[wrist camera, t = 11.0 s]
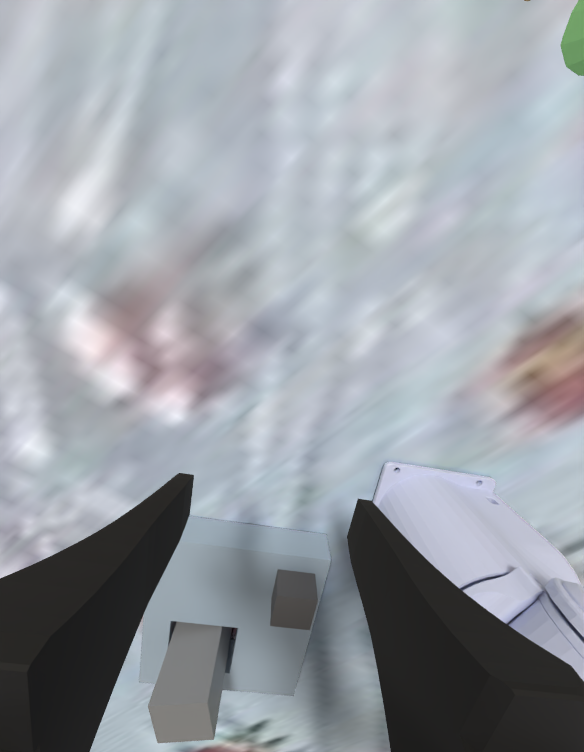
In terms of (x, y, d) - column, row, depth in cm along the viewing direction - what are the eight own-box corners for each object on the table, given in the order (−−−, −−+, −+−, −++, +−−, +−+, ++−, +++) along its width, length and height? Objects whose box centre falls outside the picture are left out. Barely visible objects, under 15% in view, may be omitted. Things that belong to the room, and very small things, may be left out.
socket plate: (326, 534, 24) (336, 586, 19) (292, 661, 27) (294, 728, 23) (163, 512, 23) (134, 561, 18) (152, 647, 26) (126, 715, 22)
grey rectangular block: (228, 595, 25) (207, 702, 18) (232, 627, 26) (213, 739, 19) (185, 597, 25) (148, 706, 18) (190, 629, 26) (157, 743, 19)
